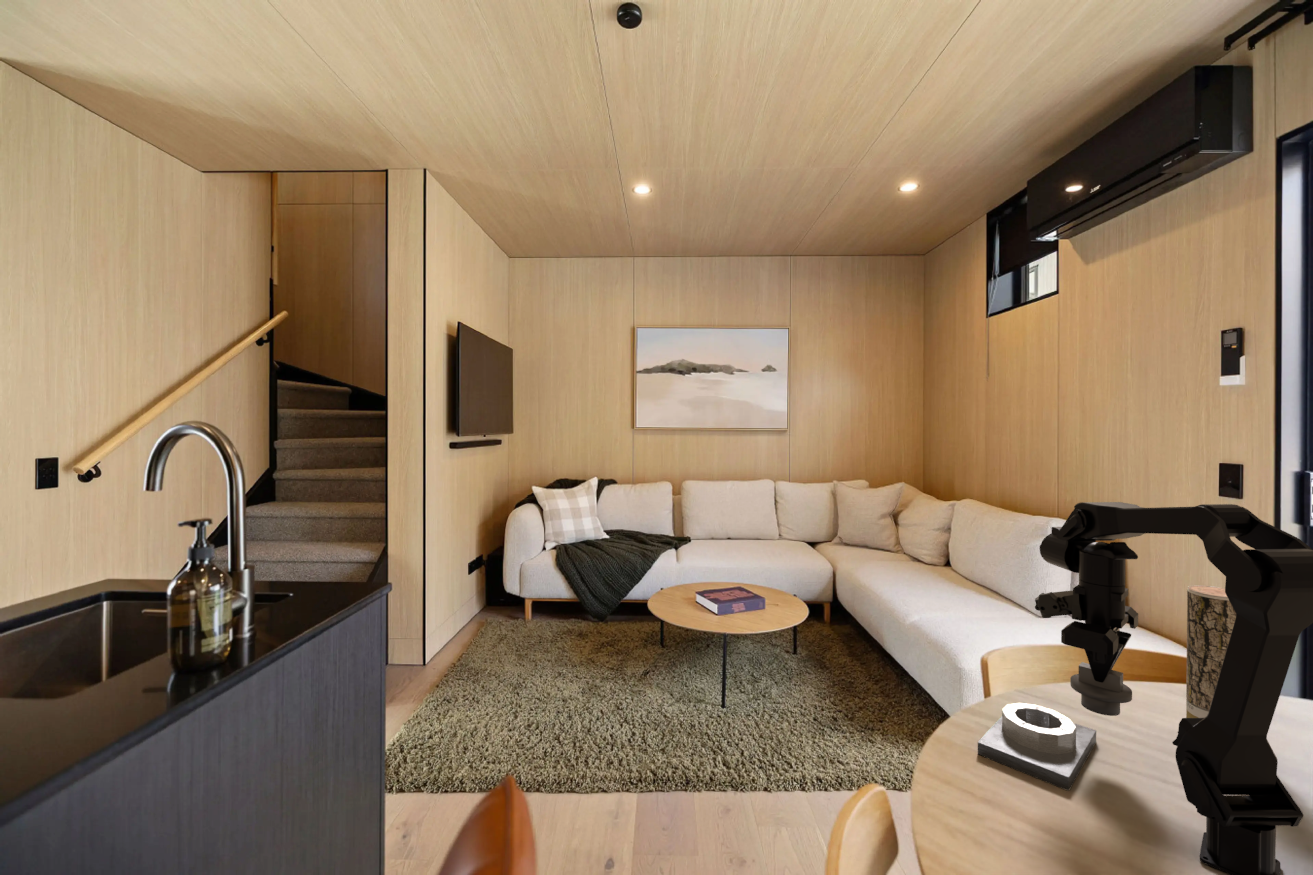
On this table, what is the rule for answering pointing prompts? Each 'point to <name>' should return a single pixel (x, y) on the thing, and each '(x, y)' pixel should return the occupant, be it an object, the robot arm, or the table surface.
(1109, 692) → the grip bar knob
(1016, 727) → the ring on base plate
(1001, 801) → the table surface
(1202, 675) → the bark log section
